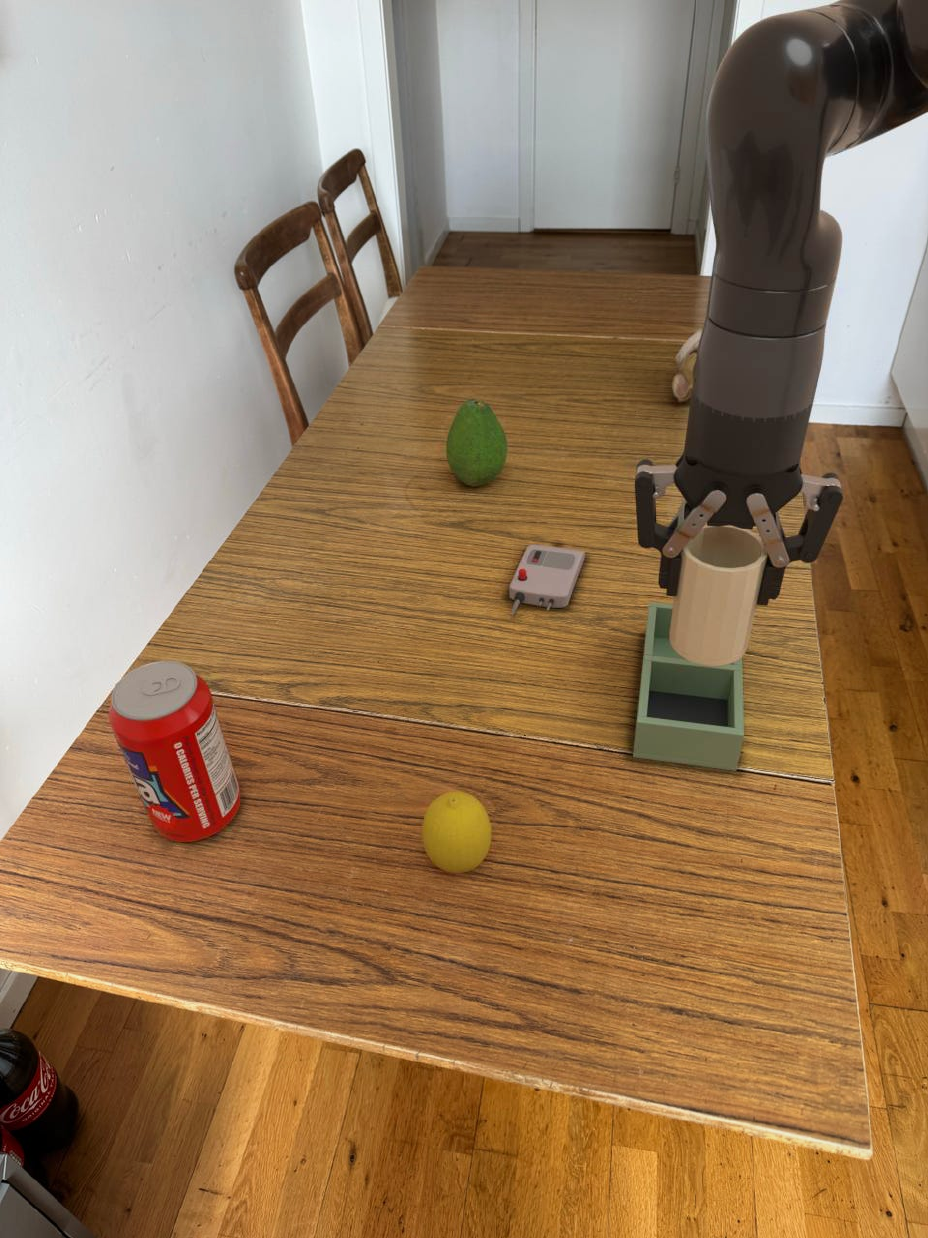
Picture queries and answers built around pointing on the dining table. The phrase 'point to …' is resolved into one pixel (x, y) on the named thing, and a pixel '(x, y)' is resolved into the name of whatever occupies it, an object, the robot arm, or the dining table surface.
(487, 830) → the lemon
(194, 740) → the soda can
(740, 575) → the cup
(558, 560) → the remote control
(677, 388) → the ceramic sculpture
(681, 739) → the holder
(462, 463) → the fruit
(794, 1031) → the dining table surface
